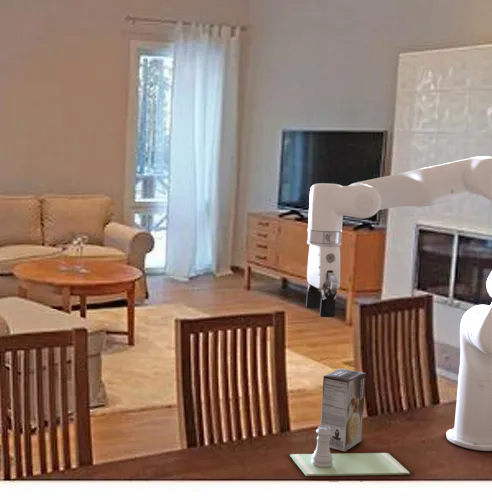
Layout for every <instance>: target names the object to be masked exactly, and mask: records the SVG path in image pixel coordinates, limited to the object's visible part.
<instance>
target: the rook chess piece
mask: <svg viewBox="0 0 492 500" xmlns="http://www.w3.org/2000/svg"><path fill="white" fill-rule="evenodd" d="M315 433H316V434H317V437H316V448H315V450H314V453H312V454H313V455H312V460H311V462H312V464H313V465H314V466H316V467H320V468H328V467H331V465H332V464H333V462H332V460H333V458H332V456H331V454H332V453H331V448H329V441H330V438H329V437H330V435H331V434H332V432H331V430H330V427H328V428H327V426H325V428H323V425H321V424H320V425H318V426H317V429H316V430H315Z"/></svg>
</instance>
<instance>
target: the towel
mask: <svg viewBox="0 0 492 500" xmlns="http://www.w3.org/2000/svg"><path fill="white" fill-rule="evenodd" d="M313 454H314V453H289V457H290V458H291V460H293V462H294V463H295V464H296V466H297V467H298V468H299V470H300V471H301V472H302V474H304V476H305V477H334V476H335V477H338V476H339V477H341V476H343V477H344V476H390V475H391V476H392V475H393V476H395V475H396V476H397V475H398V476H399V475H402V476H403V475H411V472H410V471H409V470H407V469H406V467H404V466H403V464H401V463H400V462H399V461H398V460H397V459H396V458H394V457H393V456H392V455H391V454H390V453H389V452H364V453H363V452H361V453H359V452H356V453H355V452H354V453H352V452H351V453H350V452H349V453H345V452H343V453H331V456H332V458H333V460H332V462H333V464H332V465H331V467H328V468H320V467H316V466H314V465H313V464H312V462H311V460H312V455H313Z"/></svg>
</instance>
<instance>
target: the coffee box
mask: <svg viewBox="0 0 492 500" xmlns="http://www.w3.org/2000/svg"><path fill="white" fill-rule="evenodd" d="M366 375H367V373H366V372H362V371H357V370H351V369H345V368H338V369H336V370H334V371H332V372H329V373H327V374H325V375H323V381H322V397H321V398H322V399H321V411H320V413H321V414H320V425H323V428H325V426H327V428H328V427H330V430H331V432H332V434H331V435H330V437H329V438H330V441H329V449H332V450H337V451H340V452H343V453H345V452H347V451H349V450H350V449H351V448H353V447H354V446H356V445H357V444H359V443H361V442H362V441H363V440H362V437H363V427H364V426H363V425H364V424H363V423H364V409H365V393H366V392H365V391H366Z"/></svg>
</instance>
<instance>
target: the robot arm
mask: <svg viewBox="0 0 492 500" xmlns="http://www.w3.org/2000/svg"><path fill="white" fill-rule="evenodd" d="M479 196H482V197H483V198H486V199H487V200H489V201H490V202H492V156H474V157H469V158H465V159H460V160H454V161H450V162H446V163H441V164H437V165H432V166H428V167H427V166H426V167H421V168H418V169H417V168H416V169H412V170H408V171H405V172H401V173H395V174H390V175H385V176H380V177H376V178H375V177H374V178H371V179H367V180H362V181H357V182H353V183H351V184H349V185H341V184H337V183H325V182H324V183H323V182H321V183H314V184H312V186H311V187H310V191H309V206H308V207H309V208H308V222H307V223H308V225H307V240H306V244H307V245H309V249H308V257H307V267H306V268H307V269H306V282H307V286H306V302H305V308H307V309H319V317H320V318H335V315H336V301H337V294H338V291H337V290H340V288H341V248H340V247H341V246H342V236H343V235H342V234H343V222H344V221H343V220H344V217H350V218H357V219H369V218H372V217H373V216H375V215H376V214H377V213H378V212H379V211H381V210H387V209H392V208H399V207H400V208H401V207H418V208H421V207H429V206H435V205H440V204H444V203H449V202H454V201H459V200H464V199H470V198H475V197H479ZM485 285H486V292H487V294H488V295H489V297H491V298H492V271H491V272H490V273H489V275H488V277H487V280H486V284H485ZM321 297H322V298H321ZM459 345H460V352H459V353H460V354H459V355H460V356H459V367H458V368H459V369H458V381H457V393H456V405H455V416H454V425H453V426H454V427H453V428H451V429H448V430H447V431H446V439H447V440H448V441H449V442H450V443H451V444H454V445H456V446H458V447H462V448H465V449H470V450H474V451H480V452H481V451H482V452H492V302H491V304H490V305H488V304H478V305H475V306H472V307H470V308H469V309H468V310H467V311H466V312H465V313H464V314H463V316H462V318H461V321H460V326H459Z"/></svg>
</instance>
